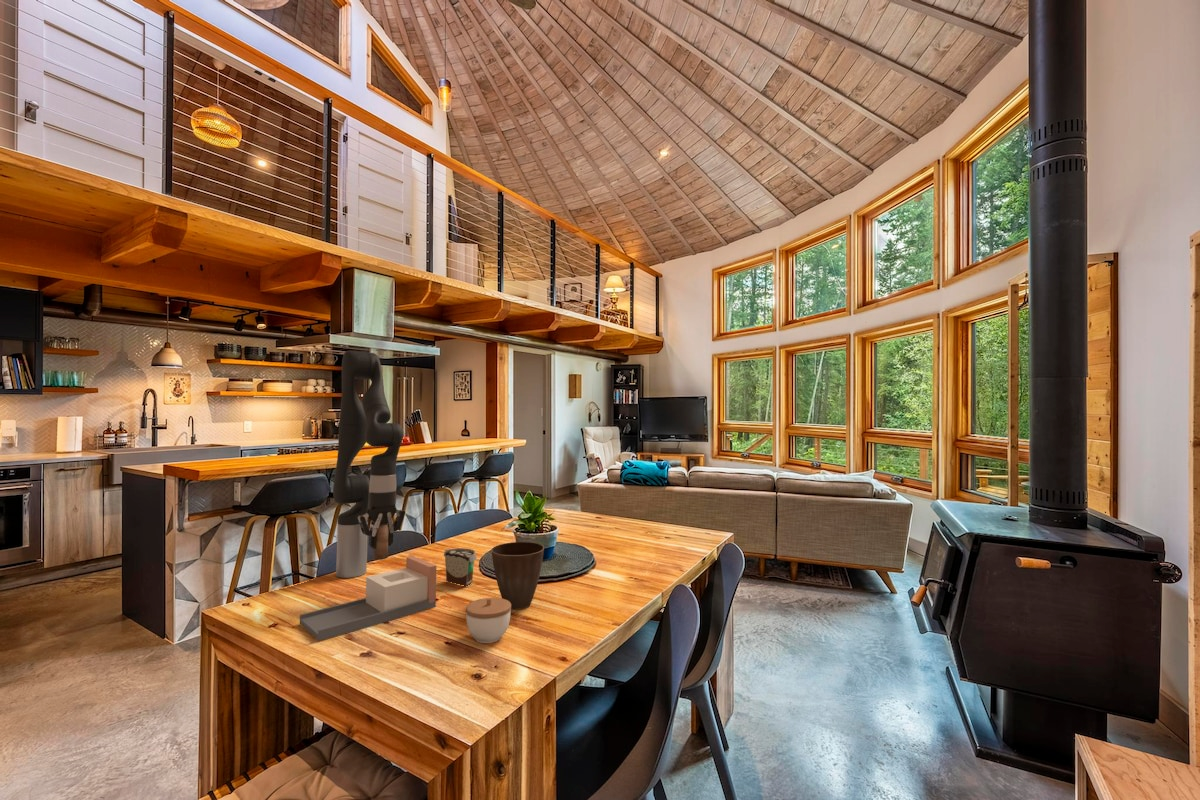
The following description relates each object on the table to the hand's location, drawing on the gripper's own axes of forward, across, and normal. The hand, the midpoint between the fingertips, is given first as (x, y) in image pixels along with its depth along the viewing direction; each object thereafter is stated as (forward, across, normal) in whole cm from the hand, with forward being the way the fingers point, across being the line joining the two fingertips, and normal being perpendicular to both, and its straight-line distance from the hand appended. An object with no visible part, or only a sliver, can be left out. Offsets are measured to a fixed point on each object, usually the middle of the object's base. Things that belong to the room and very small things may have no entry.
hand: (380, 546), depth 148 cm
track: (+14, +8, +14) cm, 21 cm away
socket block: (+13, +1, +13) cm, 18 cm away
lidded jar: (+14, -6, +48) cm, 50 cm away
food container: (+15, -24, +8) cm, 29 cm away
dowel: (+3, 0, 0) cm, 3 cm away
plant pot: (+14, -24, +36) cm, 45 cm away
